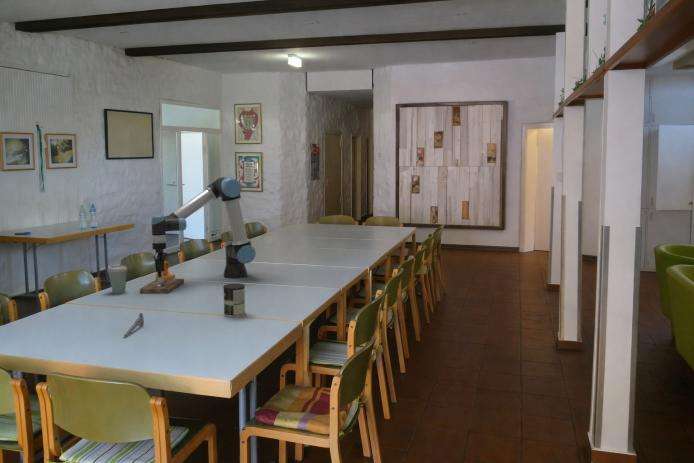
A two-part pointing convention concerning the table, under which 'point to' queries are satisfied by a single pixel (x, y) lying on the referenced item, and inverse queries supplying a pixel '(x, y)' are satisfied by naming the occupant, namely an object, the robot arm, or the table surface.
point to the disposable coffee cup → (117, 278)
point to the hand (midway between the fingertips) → (160, 282)
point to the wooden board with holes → (166, 286)
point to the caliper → (138, 322)
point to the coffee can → (234, 300)
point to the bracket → (166, 272)
